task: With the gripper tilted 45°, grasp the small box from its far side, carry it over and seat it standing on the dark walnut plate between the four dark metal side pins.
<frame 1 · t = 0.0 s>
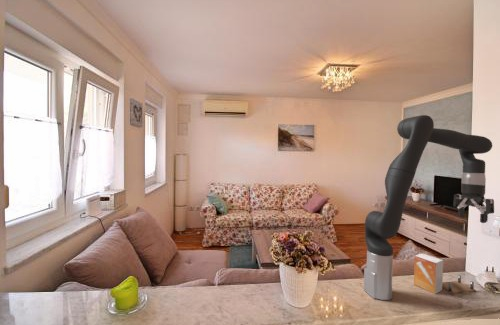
hand: (471, 219, 100), 29 cm above the kitchen counter, tool pointing down, fingers open, 8 cm apart
pin plate: (454, 288, 99), on the kitchen counter
small box: (427, 287, 99), on the kitchen counter
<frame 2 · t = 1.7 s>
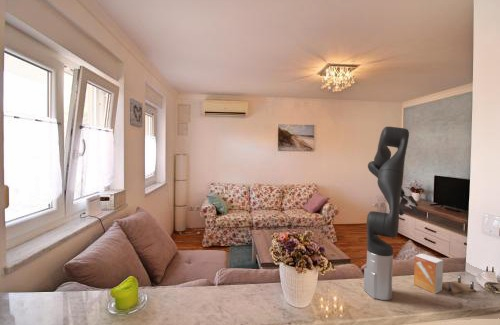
hand: (410, 214, 112), 28 cm above the kitchen counter, tool tilted 45°, fingers open, 8 cm apart
nothing on the kitchen counter moved.
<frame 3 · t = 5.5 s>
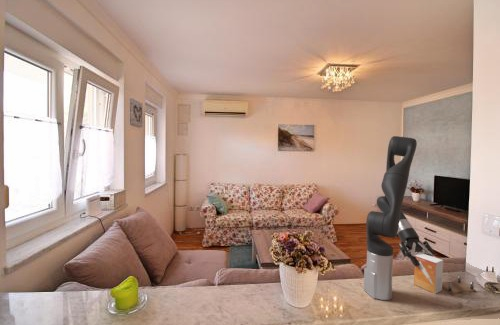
hand: (426, 265, 99), 9 cm above the kitchen counter, tool tilted 45°, fingers open, 8 cm apart
small box: (427, 287, 99), on the kitchen counter, touching gripper
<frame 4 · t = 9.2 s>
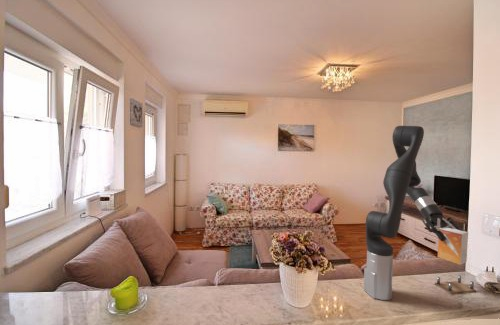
hand: (452, 240, 99), 21 cm above the kitchen counter, tool tilted 45°, fingers closed on small box, 7 cm apart
small box: (451, 260, 99), point 12 cm above the kitchen counter, touching gripper
when the fingers open (10 cm above the kitchen counter, at t = 12.5 s): small box stays where it is, resting on pin plate.
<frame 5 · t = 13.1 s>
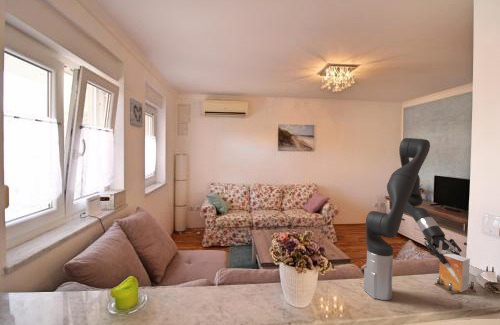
hand: (454, 263, 99), 11 cm above the kitchen counter, tool tilted 45°, fingers open, 8 cm apart
small box: (453, 286, 99), point 1 cm above the kitchen counter, touching gripper, pin plate
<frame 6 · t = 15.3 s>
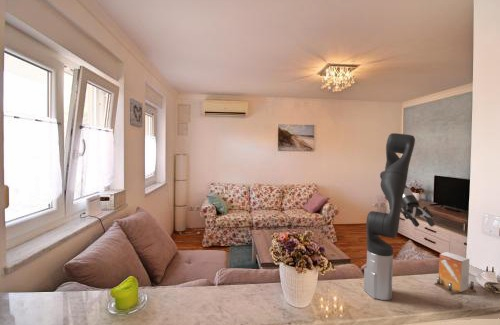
hand: (425, 225, 111), 23 cm above the kitchen counter, tool tilted 45°, fingers open, 8 cm apart
small box: (452, 286, 99), point 1 cm above the kitchen counter, touching pin plate
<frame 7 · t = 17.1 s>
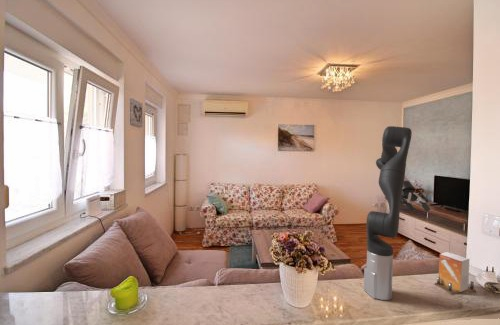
hand: (420, 210, 110), 31 cm above the kitchen counter, tool tilted 45°, fingers open, 8 cm apart
nothing on the kitchen counter moved.
at the end: small box 0.6 cm off-centre on the pin plate, point 0.6 cm above the pin plate's base; small box tilted 0°; the gripper is holding nothing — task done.
